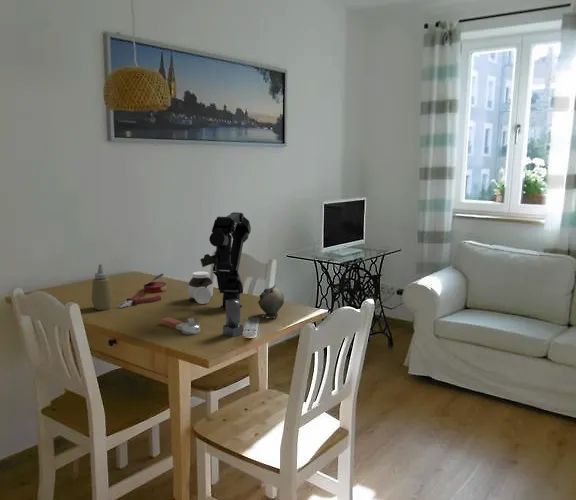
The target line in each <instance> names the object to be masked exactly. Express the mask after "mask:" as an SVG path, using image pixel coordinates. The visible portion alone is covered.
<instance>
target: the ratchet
mask: <svg viewBox="0 0 576 500" xmlns="http://www.w3.org/2000/svg"><path fill="white" fill-rule="evenodd" d="M186 320H187V322H185V323H184V322H183V321H182V320H179V319H175V318H172V317H170V316H169V317H167V316H166V317H164V318H161V319H160V321H161V325H164V326H166V327H168V328H169V327H170V328H172V329H176V330H178V331H181V334H183V335H189V336H193V335H198V334H200V333H201V323H198V322H195V318H193V317H190V318H187V319H186Z"/></svg>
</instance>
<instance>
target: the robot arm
mask: <svg viewBox="0 0 576 500" xmlns="http://www.w3.org/2000/svg"><path fill="white" fill-rule="evenodd" d="M213 222H214V223H213V226H212V229H211V234H210V236H209V242H210V244H211V245H212V246H213V247H216V248H215V251H214V255H213V254H212V255H210V254H209V253H207V254H204V256H203V258H202V257H201V258H200V259H199V260H200V264H201V266H202V268H205V267H207V266H210V265H212V273H213V274H214V275H215V276H216V282H217V288H218V290H219V293H220V294H222V295H223V296H222V304H221V305H220V308H225V309H226V300H228V299H238V300H240V295H241V294H243V293H244V286H243V281H242V279H241V277H240V273H239V268H240V262H241V258H242V253H243V246H244V243H245V242H246V241H247V240H248V239H249V235H250V234H251V231H252V227H251V223H250V220H249V219H248V218H246V216H244V213H243V212H231V213H230V214H228V215H226V216H217V217H216V219H214V221H213ZM240 301H241V300H240ZM242 307H243V305H242V304H240V308H242Z"/></svg>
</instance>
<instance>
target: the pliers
mask: <svg viewBox="0 0 576 500" xmlns="http://www.w3.org/2000/svg"><path fill="white" fill-rule="evenodd" d="M144 296H145V297H144ZM140 297H141V298H140ZM137 298H138V299H137ZM161 300H162V296H161V295H159V294H158V295H155V296H152V297H151V296H150V297H146V292H143V291H142V292H138V293H136V294H134V295H133V296H132V297H131V298H126V301H123V302H121V303H118V304H116V305H114V308H120V309H122V308H127V306H128V307H131V306H138V305H142V304H143V303H144V304H150V303H156V302H159V301H161ZM144 304H143V305H144ZM130 305H131V306H130Z"/></svg>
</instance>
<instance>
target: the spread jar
mask: <svg viewBox="0 0 576 500" xmlns="http://www.w3.org/2000/svg"><path fill="white" fill-rule="evenodd" d="M209 275H210V274H209V272H207V271H194V272H192V278H191V279H190V280H189V282H188V287H187V288H188V297H189V298H190V300H192V301H193V302H196V303H198V304H200V305H205V304H207V303H209V301H210V300H211V298H212V296H213V293H214V284H213V280H212V279H211V277H210V276H209Z"/></svg>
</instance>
